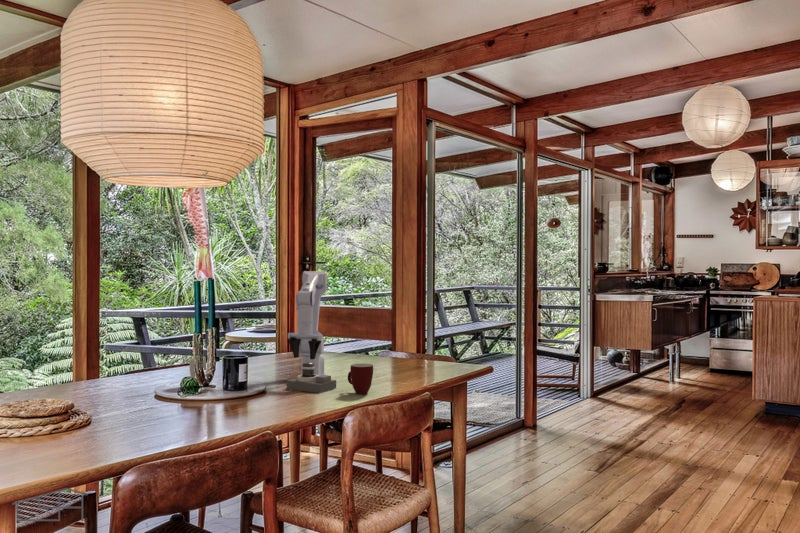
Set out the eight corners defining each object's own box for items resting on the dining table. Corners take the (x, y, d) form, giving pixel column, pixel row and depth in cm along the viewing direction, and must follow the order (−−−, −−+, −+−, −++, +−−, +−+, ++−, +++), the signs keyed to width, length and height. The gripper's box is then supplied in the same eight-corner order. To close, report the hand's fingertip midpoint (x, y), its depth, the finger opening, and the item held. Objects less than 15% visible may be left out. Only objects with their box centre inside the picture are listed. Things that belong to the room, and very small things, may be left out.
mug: (340, 393, 223) (340, 364, 223) (353, 389, 230) (353, 362, 230) (364, 396, 217) (364, 367, 217) (377, 392, 224) (377, 364, 224)
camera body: (303, 384, 238) (303, 371, 238) (336, 388, 232) (336, 374, 232) (286, 388, 230) (286, 375, 230) (320, 393, 223) (320, 378, 223)
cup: (197, 388, 227) (197, 361, 227) (184, 386, 232) (184, 359, 232) (216, 385, 234) (216, 358, 234) (203, 383, 239) (203, 356, 239)
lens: (306, 378, 234) (306, 361, 234) (316, 379, 232) (317, 362, 232) (299, 380, 230) (299, 363, 230) (310, 381, 228) (310, 364, 228)
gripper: (282, 322, 238) (282, 358, 238) (314, 324, 231) (314, 361, 231) (294, 320, 244) (293, 355, 244) (325, 322, 238) (324, 358, 238)
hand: (304, 358), depth 238 cm, fingers open, 7 cm apart
